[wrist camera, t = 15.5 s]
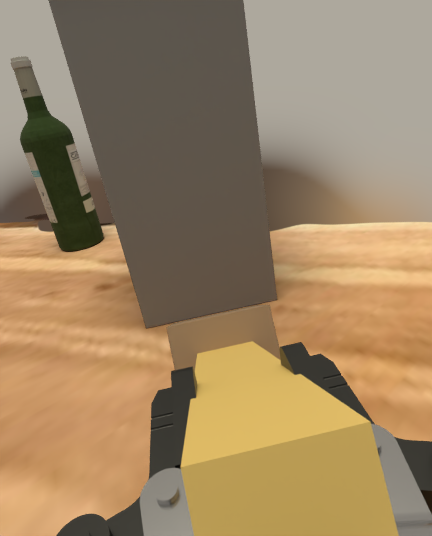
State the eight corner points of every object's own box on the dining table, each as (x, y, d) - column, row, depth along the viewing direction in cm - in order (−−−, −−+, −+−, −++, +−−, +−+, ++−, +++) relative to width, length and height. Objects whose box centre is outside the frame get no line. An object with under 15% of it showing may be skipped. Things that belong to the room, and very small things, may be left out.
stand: (283, 301, 39) (240, -100, 25) (141, 332, 38) (19, -65, 25) (248, 244, 54) (210, -24, 41) (146, 265, 53) (74, -1, 40)
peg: (504, 605, 6) (421, 297, 6) (132, 707, 6) (74, 374, 6) (270, 373, 27) (255, 305, 27) (188, 392, 26) (174, 323, 27)
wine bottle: (111, 238, 68) (54, 50, 55) (71, 255, 63) (-2, 55, 51) (92, 232, 73) (36, 60, 61) (53, 247, 69) (-16, 65, 56)
